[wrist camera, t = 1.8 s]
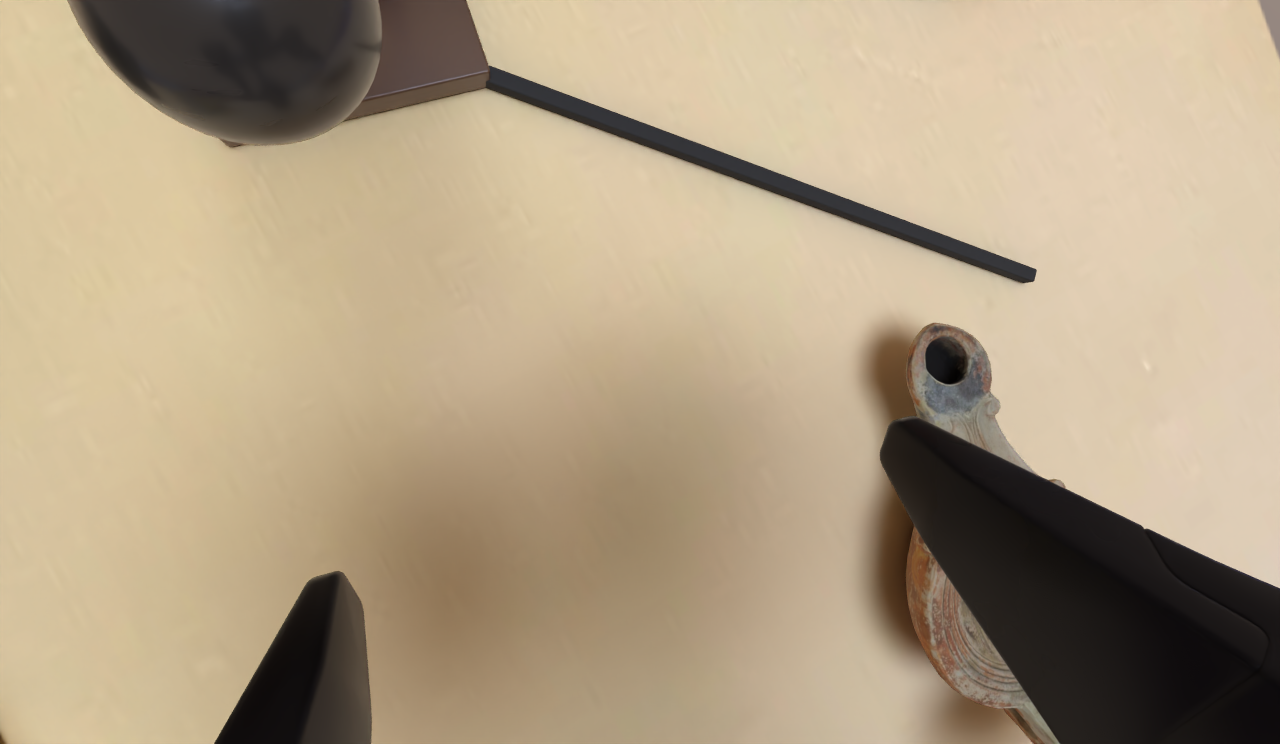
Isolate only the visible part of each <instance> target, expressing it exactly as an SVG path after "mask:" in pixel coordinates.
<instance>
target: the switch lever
mask: <svg viewBox="0 0 1280 744" xmlns="http://www.w3.org/2000/svg"><path fill="white" fill-rule="evenodd" d="M67 1H68V3H69V5H70V7H71V10H72V12H73V14H74V16H75V18H76V20H77V22H78V25H79V26H80V28H81V29H82V31H83V33H84V34H85V36H86V38H87V39H88V41H89V42H90V44H91V45H92V46H93V48H94V49H95V51H96V52H97V53H98V55H99V56H100V57H101V58H102V60H103V61H104V62H105V63H106V64H107V66H108V67H109V68H110V69H111V70H112V71H113V72H114V73H115V74H116V75H117V76H118V77H119V78H120V79H121V80H122V81H123V82H124V83H125V84H126V85H127V86H128V87H129V88H130V89H131V90H132V91H134V92H135V93H136V94H137V95H139V96H140V97H141V98H143V99H144V100H145V101H147V102H148V103H149V104H151V105H152V106H153V107H155V108H156V109H158V110H159V111H160V112H162V113H164V114H165V115H167V116H169V117H171V118H172V119H174V120H176V121H178V122H179V123H182V124H184V125H186V126H188V127H190V128H192V129H195V130H197V131H199V132H202V133H204V134H206V135H210V136H213V137H217V138H220V139H223V140H227V141H232V142H237V143H243V144H248V145H264V146H267V145H284V144H290V143H296V142H301V141H304V140H308V139H311V138H314V137H316V136H319V135H321V134H323V133H325V132H327V131H329V130H331V129H332V128H334V127H336V126H337V125H339V124H340V123H341V122H342V121H344V120H345V119H346V118H347V117H348V116H349V115H350V114H351V113H352V112H353V111H354V110H355V109H356V108H357V107H358V106H359V104H360V103H361V101H362V100H363V99H364V97H365V96H366V94H367V93H368V91H369V89H370V87H371V85H372V83H373V81H374V78H375V74H376V71H377V68H378V64H379V61H380V55H381V48H382V19H381V11H380V5H379V1H378V0H67Z"/></svg>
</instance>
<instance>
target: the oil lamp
mask: <svg viewBox="0 0 1280 744" xmlns="http://www.w3.org/2000/svg"><path fill="white" fill-rule="evenodd" d="M906 380H907V385H908V390H909V392H910V395H911V397H912V400H913V402H914V406H915V410H916V415H917V417H919V418H921V419H923V420H925V421H927V422H929V423H931V424H933V425H935V426H938V427H940V428H942V429H944V430H946V431H948V432H950V433H952V434H954V435H956V436H958V437H960V438H962V439H964V440H966V441H968V442H970V443H972V444H975V445H977V446H979V447H981V448H983V449H985V450H987V451H989V452H991V453H993V454H995V455H997V456H999V457H1001V458H1003V459H1005V460H1007V461H1010V462H1012V463H1014V464H1016V465H1018V466H1020V467H1022V468H1024V469H1026V470H1028V471H1030V472H1032V473H1034V474H1036V473H1035V472H1034V471H1033V470H1032V469H1031V468H1030V467H1029V466H1028V465H1027V464H1026V463H1025V461H1024V460H1023V459H1022V458H1021V457H1020V456H1019V455H1018V454H1017V452H1016V451H1015V450H1014V449H1013V447H1012V446H1011V445H1010V444H1009V442H1008V441H1007V439H1006V438H1005V436H1004V434H1003V433H1002V431H1001V429H1000V428H999V425H998V423H997V421H996V418H995V414H997V413H998V412H999V409H1000V402H999V400H998V399H997V398H996V397H995V396H993V395H992V394H991V392H990V388H991V381H992V377H991V365H990V361H989V359H988V356H987V353H986V351H985V350H984V348H983V347H982V345H981V344H980V342H979V341H978V340H977V339H976V338H974V337H973V336H972V335H971V334H969V333H967V332H966V331H964V330H962V329H960V328H958V327H954V326H950V325H946V324H940V323H932V324H929V325H927V326H925V327H924V328H923V329H922V330H921V331H920V332H919V333H918V335H917V336H916V337H915V339H914V341H913V342H912V344H911V347H910V350H909V353H908V357H907V363H906ZM1036 475H1037V474H1036ZM1038 476H1039V475H1038ZM1049 481H1051V482H1053V483H1055V484H1057V485H1059V486H1061V487H1063V488H1065V485H1064V483H1063V482H1062V481H1060V480H1056V479H1052V480H1049ZM906 588H907V599H908V606H909V610H910V615H911V619H912V623H913V626H914V629H915V631H916V634H917V636H918V638H919V640H920V642H921V644H922V646H923V648H924V650H925V652H926V654H927V656H928V658H929V660H930V662H931V663H932V665H933V667H934V668H935V669H936V671H937V672H938V674H939V675H940V676H941V677H942V678H943V679H944V680H945V681H946V682H947V683H948V684H949V685H950V686H951V687H952V688H953V689H954V690H956V691H957V692H959V693H960V694H962V695H963V696H965V697H967V698H968V699H970V700H972V701H974V702H976V703H979V704H981V705H985V706H989V707H993V708H997V709H1002V708H1003V709H1004V710H1005V712H1006V713H1007V714H1008V715H1009V716H1010V717H1011V719H1012V720H1013V721H1014V722H1015V723H1016V724H1017V725H1018V726H1019V727H1020V728H1021V730H1022V731H1023V732H1024V733H1025V734H1026V736H1027V737H1028V738H1029V739H1030V740H1031V741H1032V742H1033V743H1034V744H1059V742H1058V741H1057V739H1056V738H1055V736H1054V735H1053V733H1052V732H1051V730H1050V729H1049V727H1048V726H1047V724H1046V723H1045V721H1044V720H1043V718H1042V717H1041V715H1040V714H1039V712H1038V711H1037V709H1036V708H1035V706H1034V705H1033V704H1032V702H1031V701H1030V699H1029V698H1028V696H1027V695H1026V693H1025V692H1024V690H1023V689H1022V687H1021V686H1020V684H1019V683H1018V681H1017V680H1016V678H1015V677H1014V675H1013V674H1012V672H1011V671H1010V669H1009V668H1008V666H1007V665H1006V663H1005V662H1004V661H1003V659H1002V658H1001V656H1000V655H999V653H998V652H997V650H996V649H995V647H994V646H993V644H992V643H991V641H990V640H989V638H988V637H987V635H986V634H985V632H984V631H983V629H982V628H981V626H980V625H979V623H978V622H977V620H976V619H975V617H974V616H973V615H972V613H971V612H970V610H969V609H968V607H967V606H966V604H965V603H964V601H963V600H962V598H961V597H960V595H959V594H958V592H957V591H956V589H955V588H954V586H953V585H952V583H951V582H950V580H949V579H948V577H947V576H946V574H945V573H944V572H943V570H942V569H941V567H940V566H939V564H938V563H937V561H936V560H935V558H934V557H933V555H932V554H931V552H930V551H929V549H928V548H927V546H926V544H925V543H924V541H923V540H922V538H921V536H920V535H919V533H918V531H917V529H916V528H915V526H914V529H913V533H912V537H911V542H910V547H909V552H908V557H907V568H906Z"/></svg>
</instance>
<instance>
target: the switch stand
mask: <svg viewBox="0 0 1280 744" xmlns="http://www.w3.org/2000/svg"><path fill="white" fill-rule="evenodd" d="M378 1H379V5H380V11H381V19H382V48H381V55H380V61H379V64H378V68H377V71H376V74H375V78H374V81H373V83H372V85H371V87H370V89H369V91H368V93H367V94H366V96H365V97H364V99H363V100H362V101H361V103H360V104H359V106H358V107H357V108H356V109H355V110H354V111H353V112H352V113H351V114H350V115H349V116H348V117H347V118H346V119H345V120H348V119H353V118H357V117H361V116H366V115H370V114H374V113H378V112H383V111H387V110H391V109H395V108H400V107H404V106H408V105H412V104H417V103H421V102H425V101H429V100H434V99H438V98H442V97H447V96H451V95H455V94H459V93H464V92H468V91H472V90H476V89H481V88H485V87H486V81H488V80H490V69H489V66H488V63H487V60H486V57H485V54H484V51H483V48H482V45H481V42H480V39H479V37H478V34H477V31H476V28H475V25H474V22H473V19H472V16H471V13H470V10H469V7H468V4H467V1H466V0H378ZM219 139H220V138H219ZM220 140H221V141H223V142H224V143H225V144H227V145H228V146H229V147H233V146H238V145H242V144H243V143H237V142H232V141H227V140H223V139H220Z"/></svg>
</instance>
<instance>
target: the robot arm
mask: <svg viewBox="0 0 1280 744" xmlns="http://www.w3.org/2000/svg"><path fill="white" fill-rule="evenodd" d="M880 460H881V463H882V466H883V468H884V470H885V472H886V473H887V475H888V477H889V479H890V481H891V483H892V485H893V487H894V488H895V490H896V492H897V494H898V496H899V498H900V500H901V501H902V503H903V505H904V507H905V509H906V511H907V513H908V515H909V516H910V518H911V520H912V522H913V524H914V526H915V528H916V529H917V531H918V533H919V535H920V536H921V538H922V540H923V541H924V543H925V544H926V546H927V548H928V549H929V551H930V552H931V554H932V555H933V557H934V558H935V560H936V561H937V563H938V564H939V566H940V567H941V569H942V570H943V572H944V573H945V574H946V576H947V577H948V579H949V580H950V582H951V583H952V585H953V586H954V588H955V589H956V591H957V592H958V594H959V595H960V597H961V598H962V600H963V601H964V603H965V604H966V606H967V607H968V609H969V610H970V612H971V613H972V615H973V616H974V617H975V619H976V620H977V622H978V623H979V625H980V626H981V628H982V629H983V631H984V632H985V634H986V635H987V637H988V638H989V640H990V641H991V643H992V644H993V646H994V647H995V649H996V650H997V652H998V653H999V655H1000V656H1001V658H1002V659H1003V661H1004V662H1005V663H1006V665H1007V666H1008V668H1009V669H1010V671H1011V672H1012V674H1013V675H1014V677H1015V678H1016V680H1017V681H1018V683H1019V684H1020V686H1021V687H1022V689H1023V690H1024V692H1025V693H1026V695H1027V696H1028V698H1029V699H1030V701H1031V702H1032V704H1033V705H1034V706H1035V708H1036V709H1037V711H1038V712H1039V714H1040V715H1041V717H1042V718H1043V720H1044V721H1045V723H1046V724H1047V726H1048V727H1049V729H1050V730H1051V732H1052V733H1053V735H1054V736H1055V738H1056V739H1057V741H1058V742H1059V744H1280V588H1278V587H1275V586H1273V585H1270V584H1268V583H1266V582H1263V581H1261V580H1259V579H1256V578H1254V577H1252V576H1249V575H1247V574H1245V573H1243V572H1240V571H1238V570H1236V569H1233V568H1231V567H1229V566H1226V565H1224V564H1222V563H1220V562H1217V561H1215V560H1213V559H1211V558H1209V557H1206V556H1204V555H1202V554H1200V553H1198V552H1196V551H1194V550H1191V549H1189V548H1187V547H1185V546H1183V545H1181V544H1179V543H1176V542H1174V541H1172V540H1170V539H1168V538H1166V537H1164V536H1162V535H1160V534H1158V533H1156V532H1154V531H1152V530H1150V529H1144V528H1143V527H1142V526H1141V525H1139V524H1137V523H1135V522H1133V521H1131V520H1129V519H1127V518H1125V517H1123V516H1121V515H1119V514H1116V513H1114V512H1112V511H1110V510H1108V509H1106V508H1104V507H1102V506H1100V505H1098V504H1096V503H1094V502H1092V501H1090V500H1088V499H1086V498H1084V497H1081V496H1079V495H1077V494H1075V493H1073V492H1071V491H1069V490H1067V489H1065V488H1063V487H1061V486H1059V485H1057V484H1055V483H1053V482H1051V481H1049V480H1047V479H1044V478H1042V477H1040V476H1038V475H1036V474H1034V473H1032V472H1030V471H1028V470H1026V469H1024V468H1022V467H1020V466H1018V465H1016V464H1014V463H1012V462H1010V461H1007V460H1005V459H1003V458H1001V457H999V456H997V455H995V454H993V453H991V452H989V451H987V450H985V449H983V448H981V447H979V446H977V445H975V444H972V443H970V442H968V441H966V440H964V439H962V438H960V437H958V436H956V435H954V434H952V433H950V432H948V431H946V430H944V429H942V428H940V427H938V426H935V425H933V424H931V423H929V422H927V421H925V420H923V419H921V418H919V417H916V416H908V417H905V418H901V419H897V420H894V421H892V422H891V423H890V425H889V427H888V430H887V433H886V435H885V438H884V441H883V444H882V447H881V450H880ZM371 733H372V716H371V699H370V686H369V673H368V660H367V647H366V634H365V620H364V611H363V607H362V603H361V600H360V599H359V597H358V595H357V594H356V592H355V590H354V589H353V587H352V586H351V584H350V582H349V581H348V579H347V578H346V576H345V575H344V574H343V573H342V572H340V571H335V572H331V573H328V574H324V575H320V576H317V577H314V578H312V579H311V580H309V581H308V582H307V583H306V585H305V587H304V588H303V590H302V592H301V594H300V595H299V597H298V599H297V601H296V602H295V604H294V606H293V607H292V609H291V611H290V613H289V614H288V616H287V618H286V620H285V621H284V623H283V625H282V627H281V628H280V630H279V632H278V634H277V635H276V637H275V639H274V641H273V642H272V644H271V646H270V647H269V649H268V651H267V653H266V654H265V656H264V658H263V660H262V661H261V663H260V665H259V667H258V668H257V670H256V672H255V674H254V675H253V677H252V679H251V680H250V682H249V684H248V686H247V687H246V689H245V691H244V693H243V694H242V696H241V698H240V700H239V701H238V703H237V705H236V707H235V708H234V710H233V712H232V713H231V715H230V717H229V719H228V720H227V722H226V724H225V726H224V727H223V729H222V731H221V733H220V734H219V736H218V738H217V740H216V741H215V743H214V744H371Z"/></svg>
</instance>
